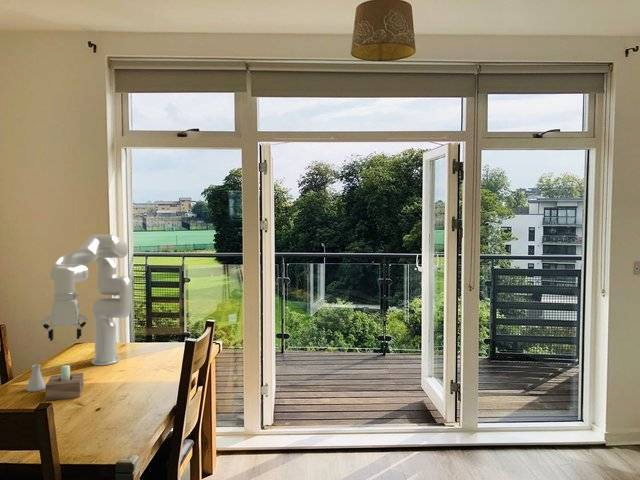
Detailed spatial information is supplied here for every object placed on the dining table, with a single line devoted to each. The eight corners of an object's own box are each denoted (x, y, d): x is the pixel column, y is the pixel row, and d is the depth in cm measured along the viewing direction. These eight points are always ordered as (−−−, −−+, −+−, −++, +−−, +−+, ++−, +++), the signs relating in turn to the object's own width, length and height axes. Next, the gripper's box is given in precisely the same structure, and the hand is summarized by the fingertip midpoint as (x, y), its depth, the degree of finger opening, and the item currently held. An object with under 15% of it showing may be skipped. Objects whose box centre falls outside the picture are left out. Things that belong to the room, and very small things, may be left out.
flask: (50, 387, 203) (50, 363, 203) (35, 393, 197) (34, 368, 196) (37, 385, 206) (37, 362, 205) (22, 390, 199) (21, 366, 199)
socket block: (51, 389, 200) (51, 375, 200) (83, 386, 205) (83, 372, 204) (45, 400, 189) (45, 385, 189) (79, 396, 193) (79, 382, 193)
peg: (61, 389, 198) (61, 365, 197) (70, 389, 199) (70, 365, 198) (59, 392, 195) (59, 368, 194) (69, 392, 196) (69, 367, 195)
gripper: (89, 294, 202) (89, 335, 202) (42, 296, 196) (42, 338, 197) (87, 297, 195) (87, 340, 195) (38, 299, 189) (38, 343, 190)
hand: (65, 339), depth 196 cm, fingers open, 9 cm apart
